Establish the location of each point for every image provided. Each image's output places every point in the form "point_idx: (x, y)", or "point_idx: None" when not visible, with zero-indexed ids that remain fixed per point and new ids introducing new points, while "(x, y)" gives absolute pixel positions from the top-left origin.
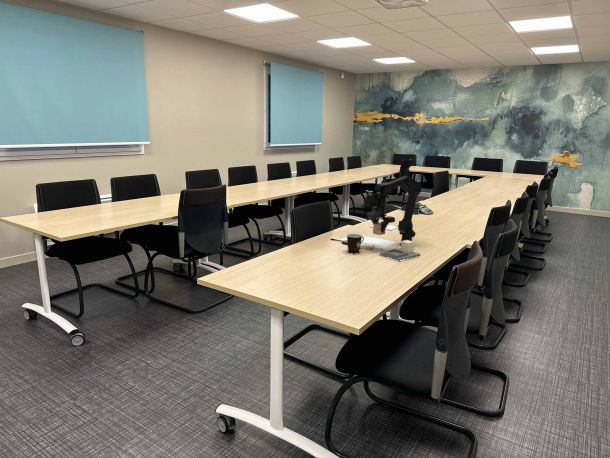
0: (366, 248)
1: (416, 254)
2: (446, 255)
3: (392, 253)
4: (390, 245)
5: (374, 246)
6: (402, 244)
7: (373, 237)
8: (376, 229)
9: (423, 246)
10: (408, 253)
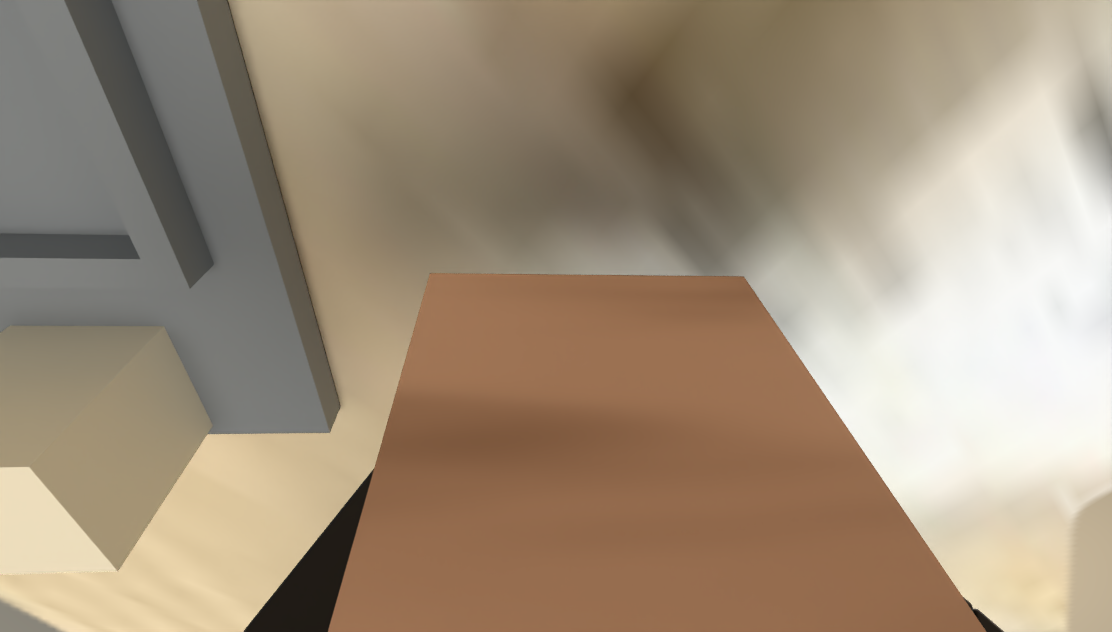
0: (736, 62)
1: None
2: (10, 588)
3: (40, 101)
4: None
5: (701, 272)
6: (45, 416)
7: (914, 504)
8: (598, 410)
9: None
10: (4, 333)
